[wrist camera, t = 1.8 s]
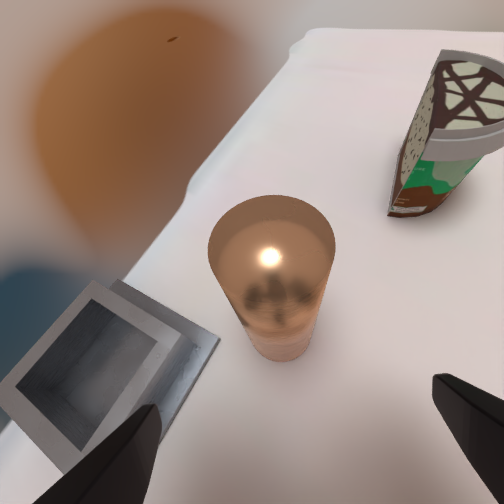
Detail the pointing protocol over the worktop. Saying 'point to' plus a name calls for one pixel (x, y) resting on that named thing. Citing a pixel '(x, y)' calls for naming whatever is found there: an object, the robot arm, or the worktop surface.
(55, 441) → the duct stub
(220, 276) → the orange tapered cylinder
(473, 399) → the robot arm
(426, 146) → the food container
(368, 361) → the worktop surface
